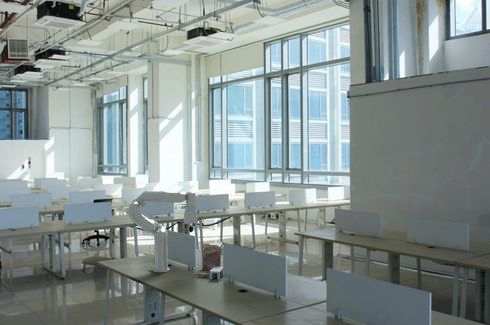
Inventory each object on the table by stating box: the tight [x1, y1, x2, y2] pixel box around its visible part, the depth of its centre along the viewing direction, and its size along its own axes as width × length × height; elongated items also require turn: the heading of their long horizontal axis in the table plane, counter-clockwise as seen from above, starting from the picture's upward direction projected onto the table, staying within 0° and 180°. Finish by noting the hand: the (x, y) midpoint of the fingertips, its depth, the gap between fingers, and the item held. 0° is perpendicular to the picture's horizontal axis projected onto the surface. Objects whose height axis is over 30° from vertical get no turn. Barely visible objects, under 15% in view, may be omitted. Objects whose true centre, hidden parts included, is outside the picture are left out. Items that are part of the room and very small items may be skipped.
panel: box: [197, 270, 218, 279], centre depth 380 cm, size 14×8×3 cm, turn 78°
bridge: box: [209, 266, 225, 281], centre depth 377 cm, size 7×14×6 cm, turn 170°
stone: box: [201, 243, 222, 272], centre depth 397 cm, size 19×11×20 cm, turn 52°
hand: (191, 231), depth 399 cm, fingers closed
